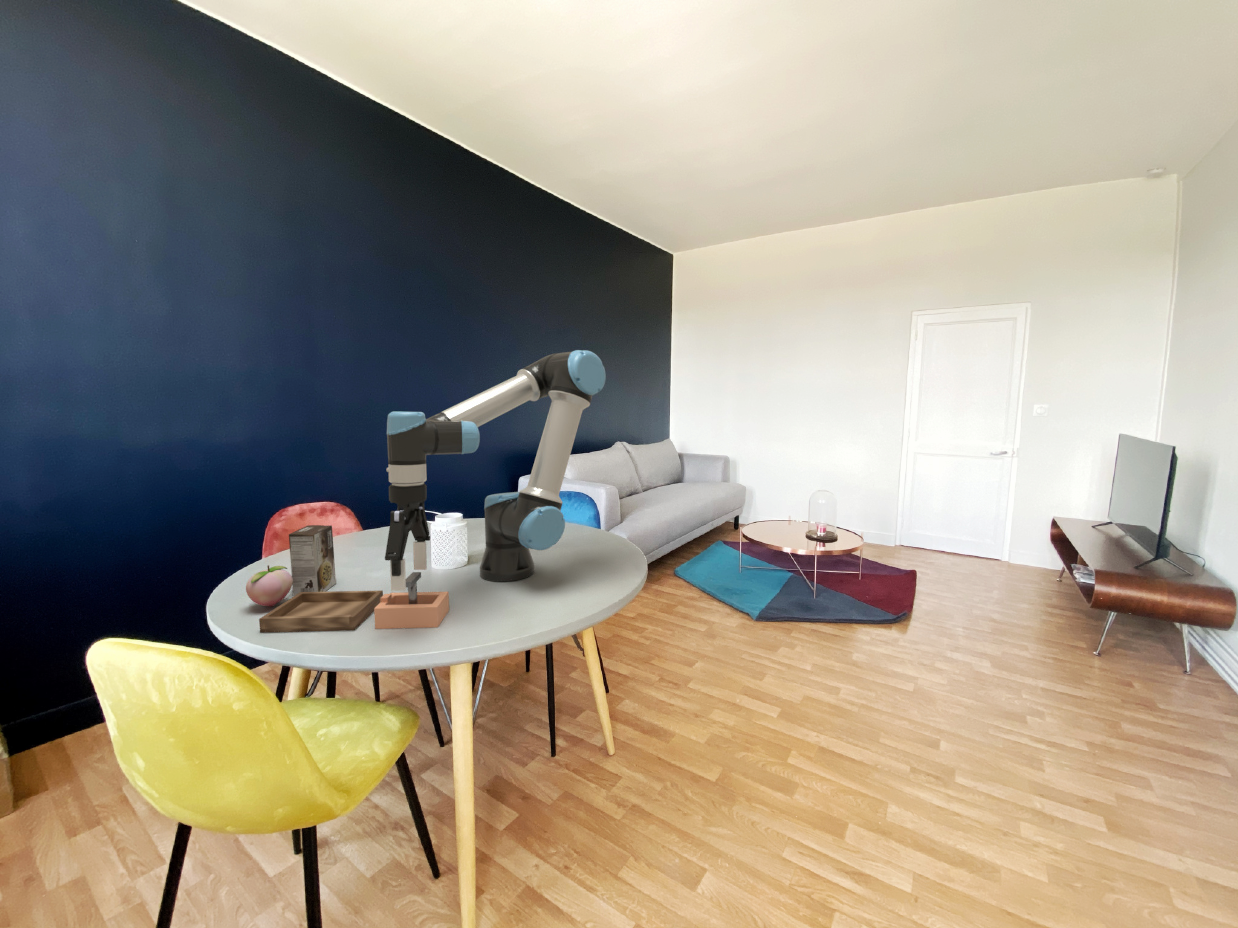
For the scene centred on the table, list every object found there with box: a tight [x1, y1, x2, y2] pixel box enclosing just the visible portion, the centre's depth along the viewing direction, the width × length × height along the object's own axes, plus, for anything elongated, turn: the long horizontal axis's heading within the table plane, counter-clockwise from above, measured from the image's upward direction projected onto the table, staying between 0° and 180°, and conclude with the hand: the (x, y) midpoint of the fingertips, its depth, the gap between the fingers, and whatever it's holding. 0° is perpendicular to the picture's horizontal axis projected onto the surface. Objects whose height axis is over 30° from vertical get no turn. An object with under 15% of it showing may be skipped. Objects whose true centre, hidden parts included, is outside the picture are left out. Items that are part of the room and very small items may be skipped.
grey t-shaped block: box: [406, 571, 422, 604], centre depth 109 cm, size 2×6×10 cm, turn 4°
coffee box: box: [288, 524, 337, 597], centre depth 125 cm, size 9×6×16 cm
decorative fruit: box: [245, 564, 293, 607], centre depth 115 cm, size 9×8×10 cm
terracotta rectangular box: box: [373, 591, 450, 630], centre depth 109 cm, size 13×9×6 cm
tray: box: [258, 590, 384, 634], centre depth 110 cm, size 19×15×3 cm
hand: (410, 579), depth 108 cm, fingers open, 13 cm apart
